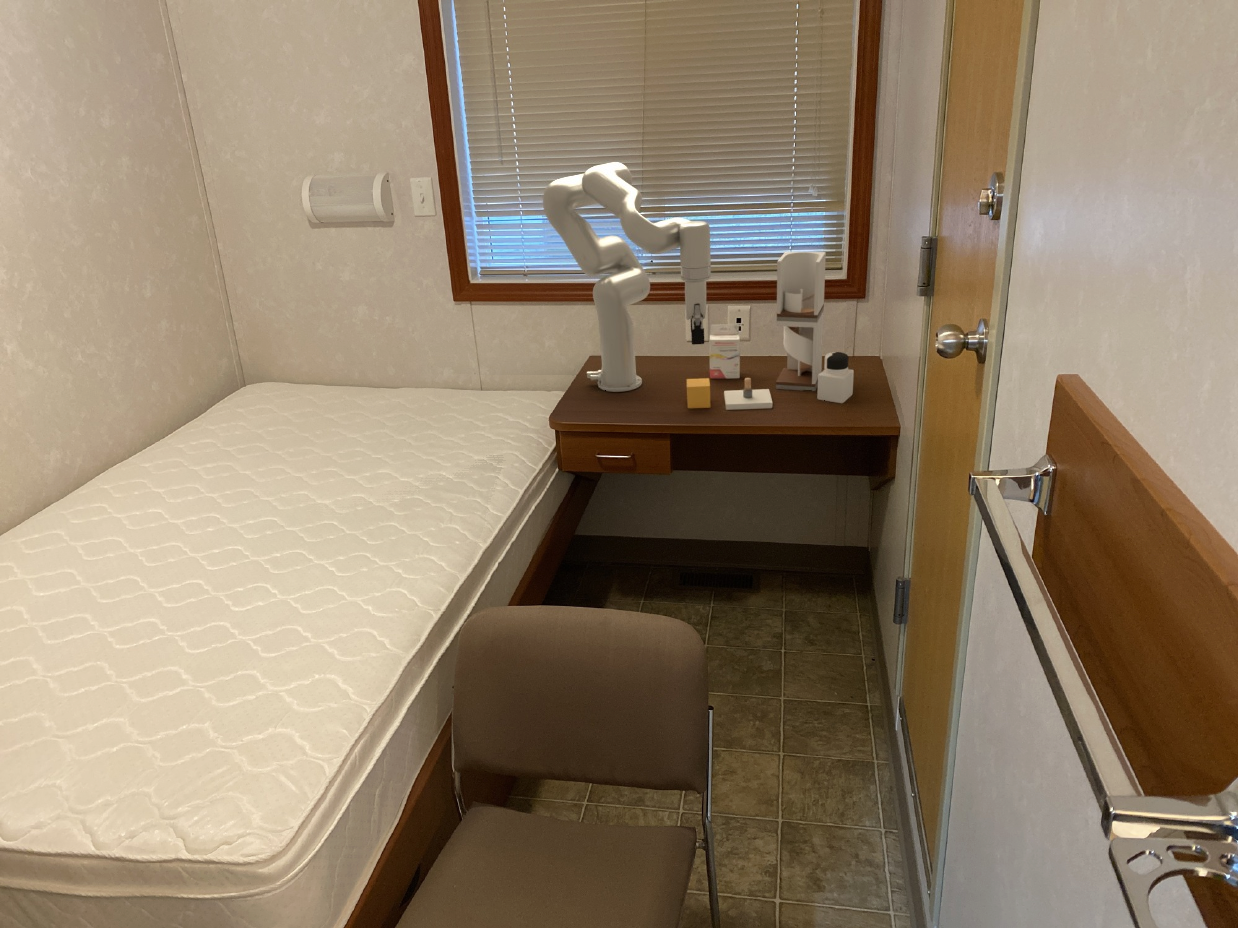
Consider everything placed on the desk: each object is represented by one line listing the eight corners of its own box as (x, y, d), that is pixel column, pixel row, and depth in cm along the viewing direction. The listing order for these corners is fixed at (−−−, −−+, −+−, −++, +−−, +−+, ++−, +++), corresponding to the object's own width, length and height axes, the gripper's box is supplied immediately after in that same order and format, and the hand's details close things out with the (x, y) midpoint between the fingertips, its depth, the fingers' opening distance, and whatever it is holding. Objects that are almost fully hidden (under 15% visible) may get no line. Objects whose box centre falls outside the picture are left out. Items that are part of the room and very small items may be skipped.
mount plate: (726, 409, 238) (725, 386, 235) (724, 396, 247) (723, 373, 244) (772, 408, 237) (772, 384, 234) (768, 394, 246) (769, 371, 243)
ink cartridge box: (709, 379, 260) (708, 329, 253) (709, 373, 264) (708, 324, 258) (740, 378, 259) (739, 328, 252) (739, 372, 263) (739, 323, 257)
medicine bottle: (852, 395, 242) (855, 351, 237) (842, 404, 237) (844, 360, 232) (827, 391, 246) (829, 348, 241) (816, 399, 240) (818, 356, 235)
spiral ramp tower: (783, 374, 259) (785, 251, 244) (821, 377, 256) (825, 252, 241) (775, 388, 249) (777, 261, 235) (814, 391, 246) (819, 262, 231)
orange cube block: (687, 408, 240) (686, 387, 238) (687, 400, 246) (686, 379, 243) (710, 407, 240) (710, 386, 237) (709, 399, 245) (709, 378, 243)
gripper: (680, 265, 236) (682, 329, 243) (681, 281, 220) (683, 349, 228) (709, 263, 236) (710, 327, 243) (712, 280, 220) (713, 348, 227)
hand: (697, 338), depth 235 cm, fingers open, 9 cm apart
